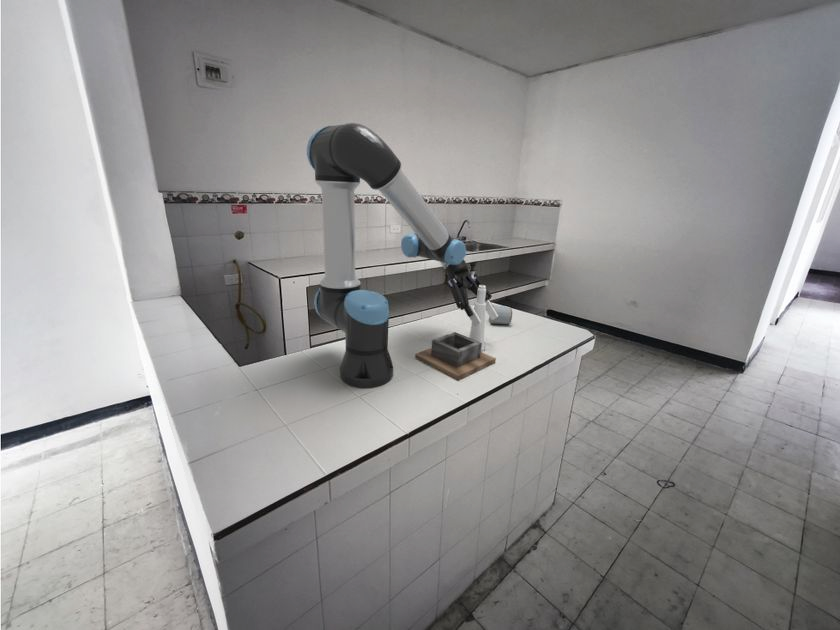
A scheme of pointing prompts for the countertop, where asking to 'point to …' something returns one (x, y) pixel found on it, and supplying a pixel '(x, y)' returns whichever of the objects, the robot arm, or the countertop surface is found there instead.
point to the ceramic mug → (502, 315)
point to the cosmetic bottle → (480, 310)
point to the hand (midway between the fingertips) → (486, 321)
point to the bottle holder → (455, 356)
